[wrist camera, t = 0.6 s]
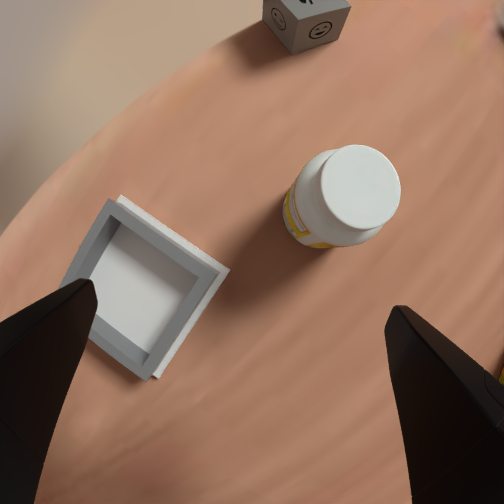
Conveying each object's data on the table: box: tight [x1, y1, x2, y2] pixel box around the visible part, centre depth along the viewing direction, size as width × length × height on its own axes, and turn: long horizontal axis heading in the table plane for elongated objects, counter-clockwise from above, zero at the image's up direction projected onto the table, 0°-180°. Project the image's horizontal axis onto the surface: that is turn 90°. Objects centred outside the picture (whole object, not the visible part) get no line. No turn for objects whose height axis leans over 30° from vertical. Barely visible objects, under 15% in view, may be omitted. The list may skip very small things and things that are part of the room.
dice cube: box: [262, 0, 351, 55], centre depth 21 cm, size 5×5×5 cm
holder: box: [59, 195, 230, 382], centre depth 22 cm, size 10×10×3 cm
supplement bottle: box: [283, 145, 401, 248], centre depth 18 cm, size 5×5×10 cm
